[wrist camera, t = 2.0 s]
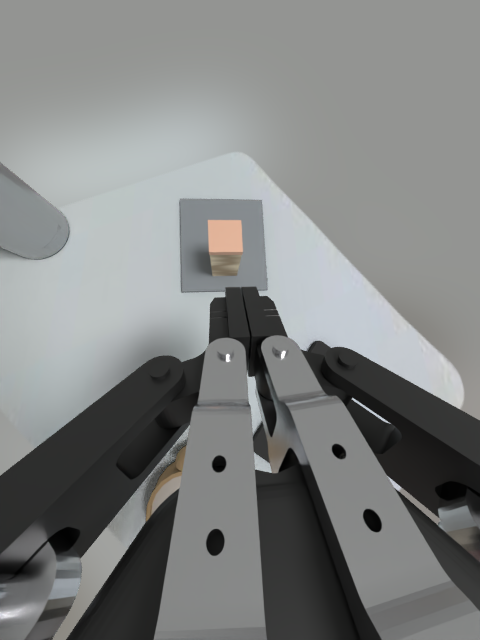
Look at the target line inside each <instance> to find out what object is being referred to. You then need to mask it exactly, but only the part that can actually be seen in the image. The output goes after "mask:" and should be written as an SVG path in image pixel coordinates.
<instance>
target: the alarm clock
mask: <svg viewBox="0 0 480 640" xmlns="http://www.w3.org/2000/svg"><path fill="white" fill-rule="evenodd" d="M186 446H187V445H186ZM186 446H184V447H183V448H182V449H181V450H180V451H179V452H178V454H177V456H176V460H175V462H174V463H172V464H171V465H169V466H168V467H167V468H166V469H165V471H164V472H163V473H162V474H161V476H160V477H159V479H158V482H157V484H156V487H155V489H154V490H153V492H152V494H151V497H150V499H149V502H148V505H147V510H146V522H147V520H148V519H149V518H150V516H151V515H152V514H153V513H154V511H155V510H156V509H157V508H158V507H159V505H160V504H161V503H162V502H163V501H164V500H166V499H167V498H168V497H169V496H170V495H171V494H172V493H174V492H175V491H176V490H177V489H179V488H180V483H181V476H182V470H183V464H184V458H185V452H186Z"/></svg>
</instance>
